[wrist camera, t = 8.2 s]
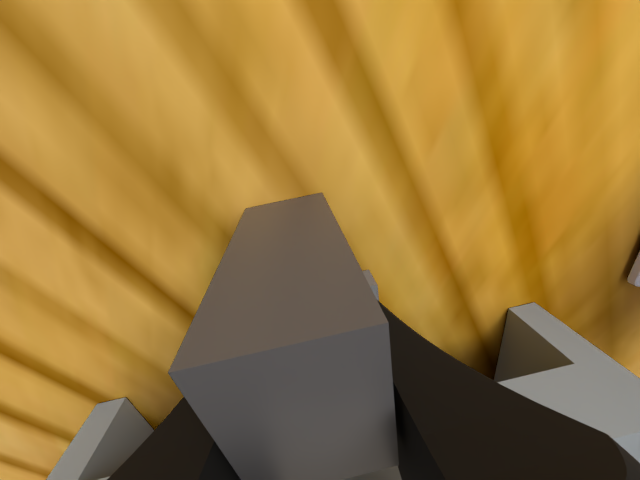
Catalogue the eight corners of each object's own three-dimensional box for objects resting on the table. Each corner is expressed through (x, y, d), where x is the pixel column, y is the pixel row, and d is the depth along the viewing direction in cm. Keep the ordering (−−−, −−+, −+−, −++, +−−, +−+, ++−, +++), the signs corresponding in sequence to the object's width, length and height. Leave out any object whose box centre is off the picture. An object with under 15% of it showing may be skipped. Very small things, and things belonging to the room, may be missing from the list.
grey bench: (96, 404, 13) (-38, 603, 8) (534, 302, 14) (694, 417, 8) (178, 489, 17) (130, 654, 12) (506, 408, 18) (600, 528, 13)
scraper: (207, 216, 10) (52, 398, 3) (359, 184, 10) (494, 298, 3) (311, 474, 19) (324, 651, 12) (388, 455, 19) (439, 620, 13)
